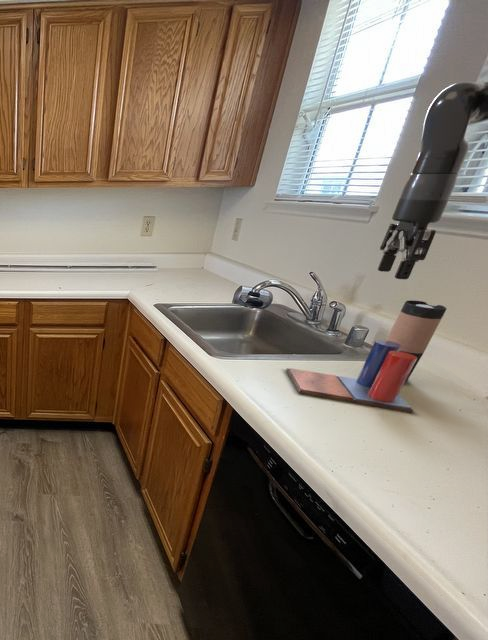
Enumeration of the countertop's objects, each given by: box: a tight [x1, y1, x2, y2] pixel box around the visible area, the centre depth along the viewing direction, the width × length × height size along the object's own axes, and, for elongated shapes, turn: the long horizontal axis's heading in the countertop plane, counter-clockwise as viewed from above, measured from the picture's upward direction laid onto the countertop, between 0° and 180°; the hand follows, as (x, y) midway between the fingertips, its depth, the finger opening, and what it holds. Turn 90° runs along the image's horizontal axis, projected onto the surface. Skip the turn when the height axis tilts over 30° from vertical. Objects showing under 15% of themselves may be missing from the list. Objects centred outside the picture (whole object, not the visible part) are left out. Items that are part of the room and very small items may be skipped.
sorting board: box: [285, 367, 414, 414], centre depth 103 cm, size 22×14×1 cm, turn 68°
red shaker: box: [368, 351, 417, 403], centre depth 96 cm, size 5×5×11 cm
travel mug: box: [385, 299, 447, 384], centre depth 106 cm, size 8×8×20 cm
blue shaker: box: [356, 339, 402, 388], centre depth 102 cm, size 5×5×11 cm
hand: (391, 274), depth 94 cm, fingers open, 8 cm apart
